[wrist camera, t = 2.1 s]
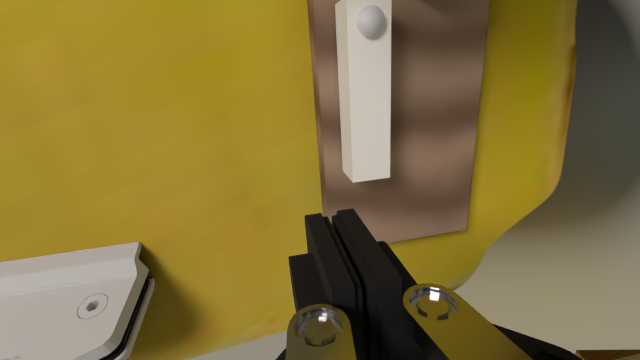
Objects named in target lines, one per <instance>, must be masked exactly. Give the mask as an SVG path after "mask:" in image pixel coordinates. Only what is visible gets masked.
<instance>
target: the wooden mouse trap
mask: <svg viewBox="0 0 640 360" xmlns="http://www.w3.org/2000/svg"><path fill="white" fill-rule="evenodd" d="M339 1H341V0H307V3H308V16H309V30H310V43H311V57H312V70H313V84H314V97H315V111H316V125H317V138H318V152H319V165H320V179H321V192H322V206H323V217H326V216H328V218H329V220H330V222H331V224H332V216H333V215H336V214H337V211H338V210H345V209H351V208H353V209H354V210H355V211H356V213H357V214H358V216H359V217H360V218H361V220H362V221H363V223H364V224H365V226H366V227H367V228H368V230H369V231H370V233H371V234H372V236H373V237H374V238H375V240H376V241H377V242H378V241H385V242H386V243H391V242H396V241H402V240H408V239H414V238H420V237H426V236H431V235H437V234H443V233H449V232H455V231H461V230H466V229H467V219H468V210H469V200H470V190H471V181H472V171H473V161H474V152H475V142H476V133H477V123H478V113H479V104H480V94H481V84H482V75H483V65H484V56H485V46H486V36H487V27H488V17H489V7H490V0H392V3H391V128H390V178H383V179H376V180H369V181H361V182H354V183H353V182H352V181H351V180H350V179H349V177H348V176H347V175H346V174H345V173H344V172H343V165H342V144H341V123H340V102H339V81H338V59H337V38H336V17H335V4H336V3H338V2H339Z"/></svg>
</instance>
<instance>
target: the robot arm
mask: <svg viewBox="0 0 640 360" xmlns="http://www.w3.org/2000/svg"><path fill="white" fill-rule="evenodd" d="M305 227H306V237H307V247H308V254H302V255H296V256H290V257H289V266H290V274H291V282H292V289H293V296H294V302H295V308H296V314H294V316H293V317H292V319H291V320H290V322H289V325H288V330H287V345H286V349H285V350H284V351H283V352H282V353H281V354H280V355H279V357H278V358H277V359H276V360H640V350H577V351H576V353H575V355H574V354H573V353H571V352H570V351H567V350H565V349H563V348H561V347H558V346H556V345H553V344H550V343H547V342H544V341H541V340H538V339H535V338H532V337H530V336H527V335H524V334H521V333H518V332H515V331H512V330H509V329H506V328H503V327H500V326H497V325H494V324H492V323H490V322H489V321H487V320H486V319H485V318H484V317H483V316H482V315H481V314H480V313H478V312H477V311H476V310H475V309H474V308H473V307H472V306H470V305H469V304H468V303H467V302H466V301H465V300H463V299H462V298H461V297H460V296H459V295H458V294H456V293H455V292H453V291H452V290H451V289H448V288H446V287H444V286H441V285H436V284H428V283H423V284H417V283H416V282H415V280H414V279H413V278H412V276H411V275H410V274H409V272H408V271H407V270H406V268H405V267H404V266H403V264H402V263H401V262H400V260H399V259H398V258H397V256H396V255H395V254H394V252H393V251H392V250H391V248H390V247H389V246H388V244H387V243H386V242H385V241H378V242H377V241H376V240H375V238H374V237H373V236H372V234H371V233H370V231H369V230H368V228H367V227H366V226H365V224H364V223H363V221H362V220H361V218H360V217H359V216H358V214H357V213H356V211H355V210H354V209H353V208H351V209H345V210H338V211H337V214H336V215H333V216H332V224H331V222H330V220H329V218H328V216H326V217H323V216H322V214H321V213H318V214H311V215H305Z"/></svg>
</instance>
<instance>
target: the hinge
mask: <svg viewBox="0 0 640 360" xmlns="http://www.w3.org/2000/svg"><path fill="white" fill-rule="evenodd" d="M141 247H142V246H141V244H140V242H134V243H127V244H120V245H113V246H107V247H100V248H93V249H86V250H80V251H73V252H66V253H59V254H53V255H46V256H39V257H33V258H26V259H19V260H12V261H6V262H0V360H127V359H128V358H129V356H130V355H131V352H132V349H133V346H134V344H135V341H136V338H137V335H138V333H139V330H140V327H141V324H142V321H143V319H144V316H145V313H146V310H147V307H148V305H149V302H150V299H151V296H152V294H153V291H154V288H155V281H154V278H152V279H146V277H147V274H148V272H149V269H148V268H147V267H146V266H145V265H144V264H143V263H142V262H141V261H140V260H139V254H140V251H141Z"/></svg>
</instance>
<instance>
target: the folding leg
mask: <svg viewBox="0 0 640 360" xmlns="http://www.w3.org/2000/svg"><path fill="white" fill-rule="evenodd" d="M391 3H392V0H341V1H339V2H338V3H336V4H335V17H336V38H337V59H338V81H339V102H340V123H341V144H342V165H343V172H344V173H345V174H346V175H347V176H348V177H349V179H350V180H351V181H352V182H353V183H354V182H361V181H369V180H376V179H383V178H390V128H391Z"/></svg>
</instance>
